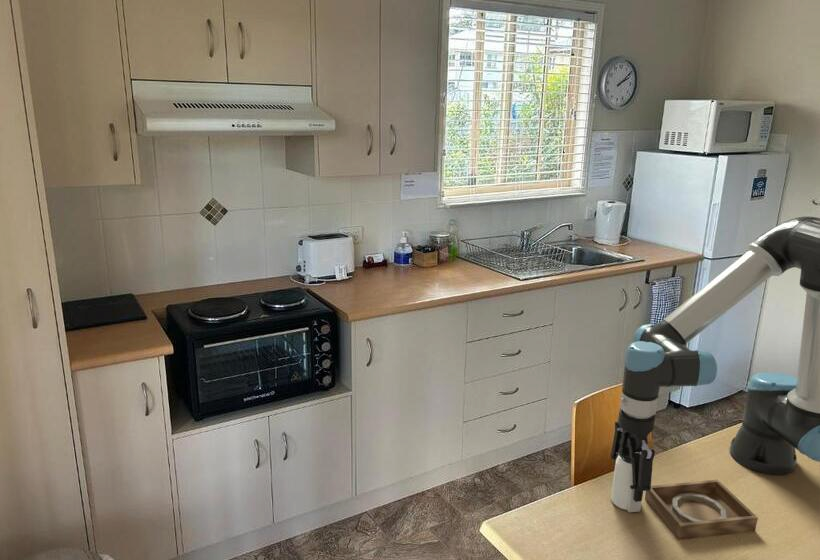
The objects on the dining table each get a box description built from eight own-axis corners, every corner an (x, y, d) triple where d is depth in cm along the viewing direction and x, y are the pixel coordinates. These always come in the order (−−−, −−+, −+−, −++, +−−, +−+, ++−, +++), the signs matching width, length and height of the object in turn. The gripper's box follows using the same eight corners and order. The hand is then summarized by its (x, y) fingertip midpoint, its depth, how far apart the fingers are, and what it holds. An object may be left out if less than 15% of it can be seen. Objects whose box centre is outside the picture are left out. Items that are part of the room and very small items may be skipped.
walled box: (715, 492, 151) (717, 479, 150) (755, 531, 138) (757, 517, 137) (644, 499, 148) (646, 486, 147) (678, 539, 135) (680, 525, 134)
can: (642, 513, 143) (648, 466, 140) (612, 509, 144) (618, 463, 141) (638, 496, 149) (644, 451, 146) (609, 492, 150) (615, 447, 147)
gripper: (601, 392, 148) (592, 477, 155) (644, 435, 130) (631, 530, 137) (631, 390, 150) (621, 475, 156) (677, 432, 131) (663, 526, 138)
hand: (625, 500), depth 147 cm, fingers closed on can, 6 cm apart
